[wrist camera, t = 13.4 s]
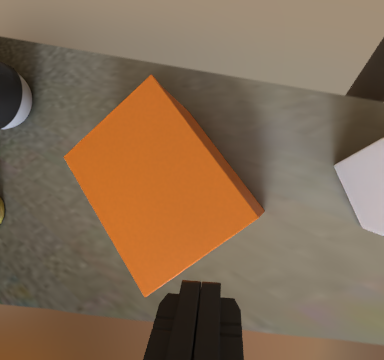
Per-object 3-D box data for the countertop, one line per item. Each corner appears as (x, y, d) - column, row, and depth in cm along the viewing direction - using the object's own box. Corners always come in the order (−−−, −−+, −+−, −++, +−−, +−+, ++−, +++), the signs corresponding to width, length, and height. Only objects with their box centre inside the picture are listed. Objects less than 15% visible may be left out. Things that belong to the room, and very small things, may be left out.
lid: (69, 157, 29) (63, 156, 28) (154, 77, 26) (151, 74, 25) (148, 294, 25) (144, 297, 24) (259, 216, 22) (259, 217, 21)
